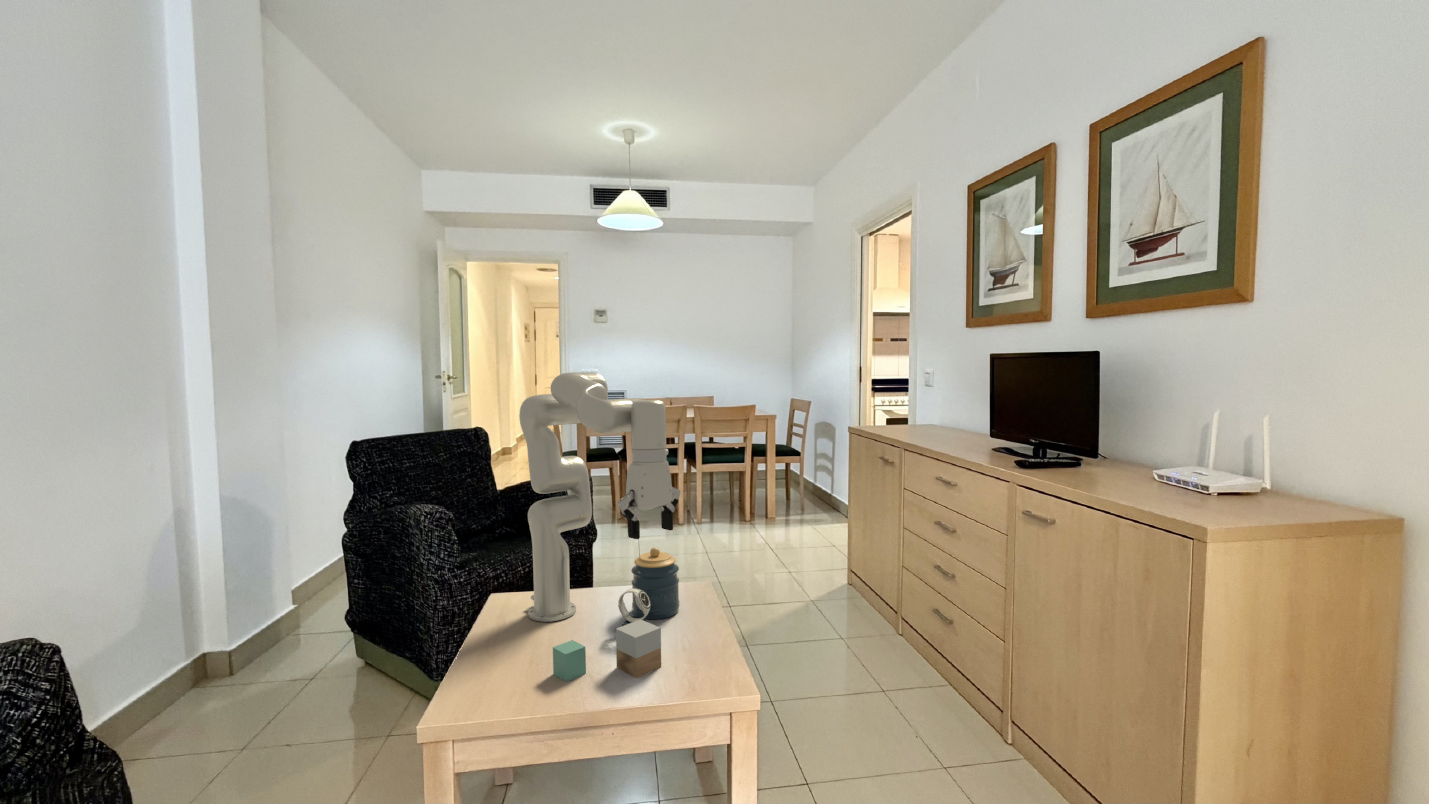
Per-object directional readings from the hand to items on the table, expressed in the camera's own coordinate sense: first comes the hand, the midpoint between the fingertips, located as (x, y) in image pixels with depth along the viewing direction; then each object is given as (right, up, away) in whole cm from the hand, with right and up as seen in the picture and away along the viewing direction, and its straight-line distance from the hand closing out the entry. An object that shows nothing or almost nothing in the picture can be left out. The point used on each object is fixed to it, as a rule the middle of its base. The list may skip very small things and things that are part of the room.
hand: (651, 533), depth 135 cm
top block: (-3, -26, +1) cm, 26 cm away
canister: (-2, -29, +33) cm, 44 cm away
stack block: (-18, -30, -2) cm, 35 cm away
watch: (-6, -29, +19) cm, 36 cm away
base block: (-3, -30, +1) cm, 30 cm away
